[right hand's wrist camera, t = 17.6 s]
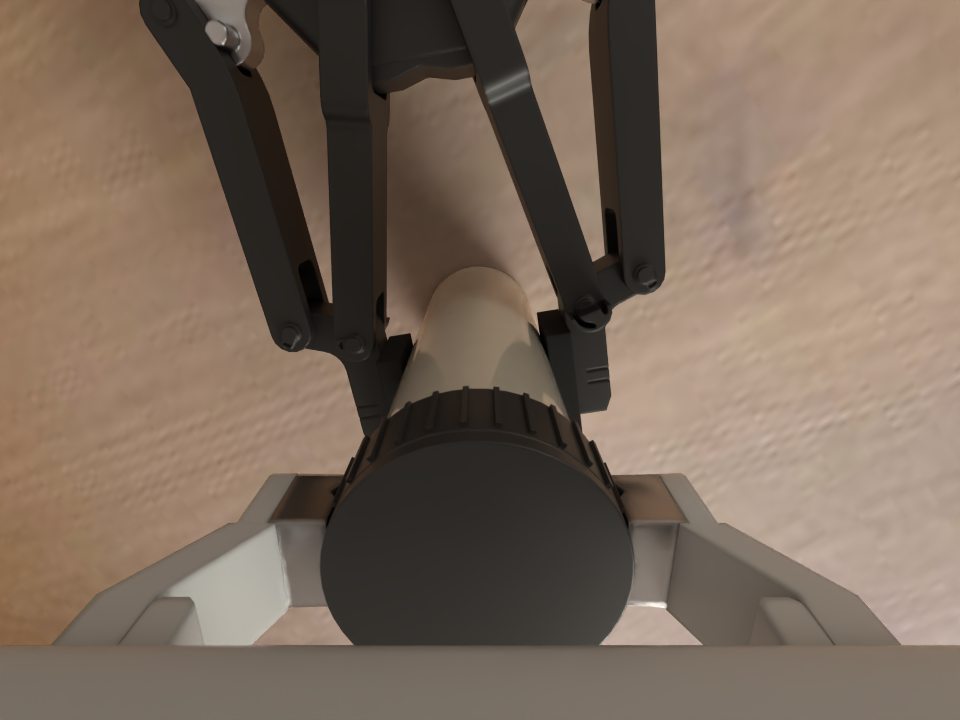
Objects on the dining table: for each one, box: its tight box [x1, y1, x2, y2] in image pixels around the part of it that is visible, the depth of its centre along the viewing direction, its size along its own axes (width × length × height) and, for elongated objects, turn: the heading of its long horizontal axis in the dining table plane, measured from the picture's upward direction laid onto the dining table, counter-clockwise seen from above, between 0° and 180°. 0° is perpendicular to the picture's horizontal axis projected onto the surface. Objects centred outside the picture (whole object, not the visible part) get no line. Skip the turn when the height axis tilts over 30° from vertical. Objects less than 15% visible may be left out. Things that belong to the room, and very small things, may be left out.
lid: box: [320, 386, 635, 645], centre depth 9 cm, size 5×5×2 cm
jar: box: [387, 266, 570, 420], centre depth 16 cm, size 4×4×15 cm
